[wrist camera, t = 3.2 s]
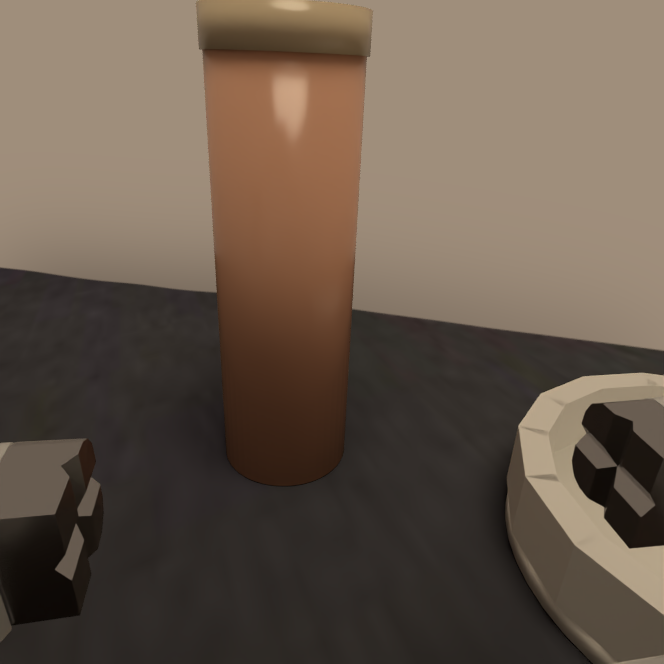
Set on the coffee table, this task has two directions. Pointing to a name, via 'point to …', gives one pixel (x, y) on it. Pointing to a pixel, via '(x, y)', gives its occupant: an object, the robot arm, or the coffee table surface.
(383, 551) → the coffee table surface
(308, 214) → the bead jar
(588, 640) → the round tray
